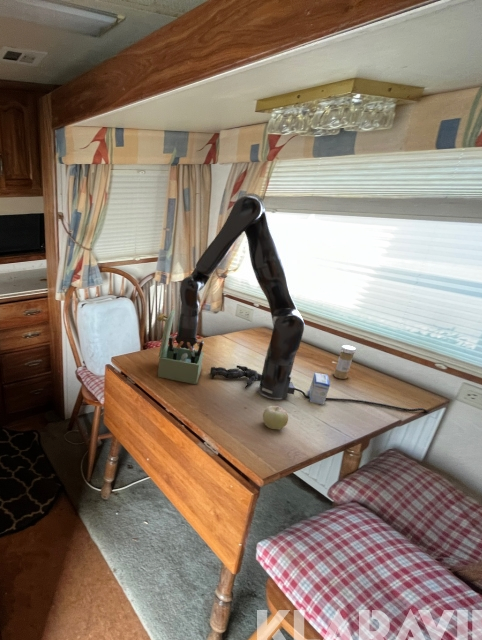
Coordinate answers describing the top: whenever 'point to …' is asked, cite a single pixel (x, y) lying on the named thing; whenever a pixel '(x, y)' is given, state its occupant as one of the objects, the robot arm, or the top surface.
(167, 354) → the chest
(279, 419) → the fruit
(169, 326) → the lid
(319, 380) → the medicine box
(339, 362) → the sprinkles bottle
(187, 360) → the pacifier
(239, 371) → the robot figurine
